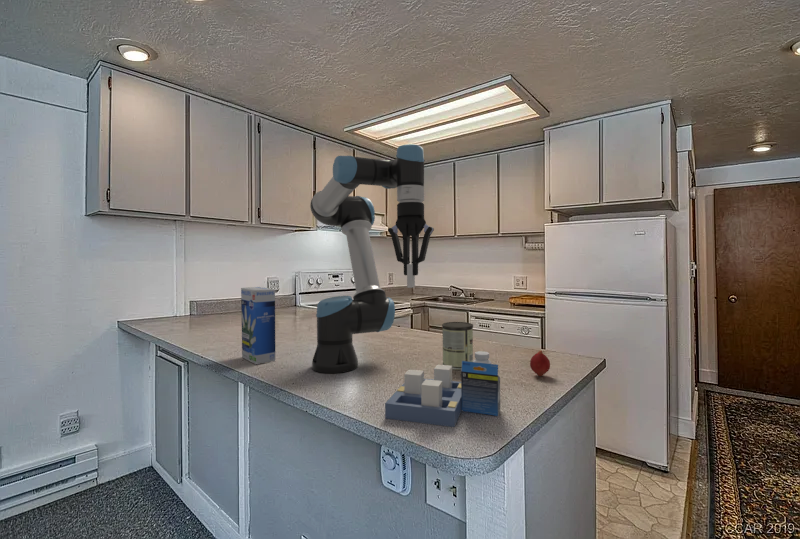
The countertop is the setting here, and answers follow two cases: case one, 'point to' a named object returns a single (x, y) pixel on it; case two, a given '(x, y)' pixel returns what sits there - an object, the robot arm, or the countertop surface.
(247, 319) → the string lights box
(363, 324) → the robot arm
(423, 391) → the tab near
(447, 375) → the tab far
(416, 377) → the tab middle
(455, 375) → the countertop surface
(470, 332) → the coffee can
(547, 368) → the onion
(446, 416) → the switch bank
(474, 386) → the label tape box
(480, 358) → the supplement bottle
